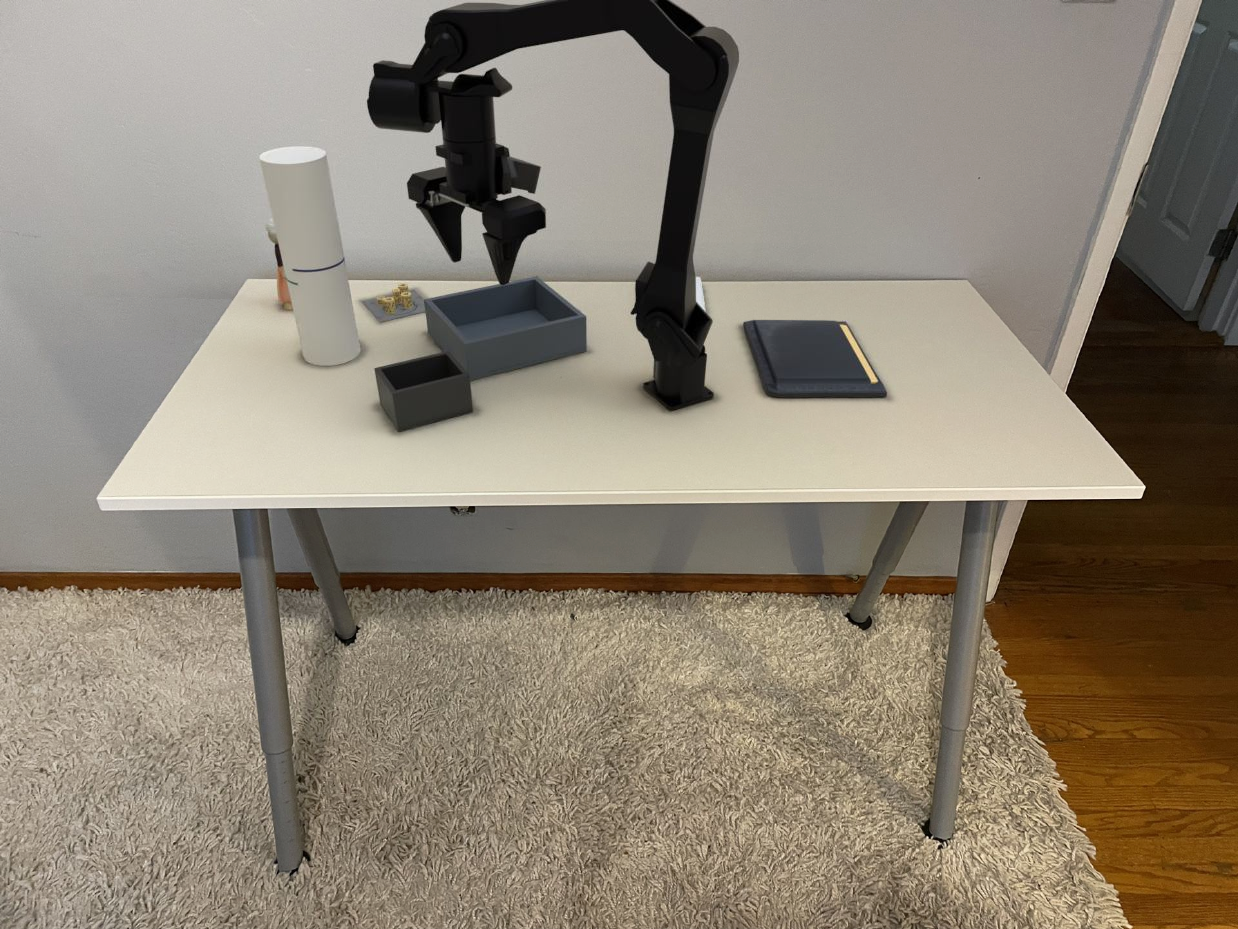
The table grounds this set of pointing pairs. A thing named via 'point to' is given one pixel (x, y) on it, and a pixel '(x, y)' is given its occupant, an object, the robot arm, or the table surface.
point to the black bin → (424, 390)
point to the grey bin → (505, 326)
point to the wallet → (811, 359)
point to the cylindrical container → (312, 252)
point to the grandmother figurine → (279, 268)
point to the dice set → (396, 304)
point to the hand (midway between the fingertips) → (479, 272)
